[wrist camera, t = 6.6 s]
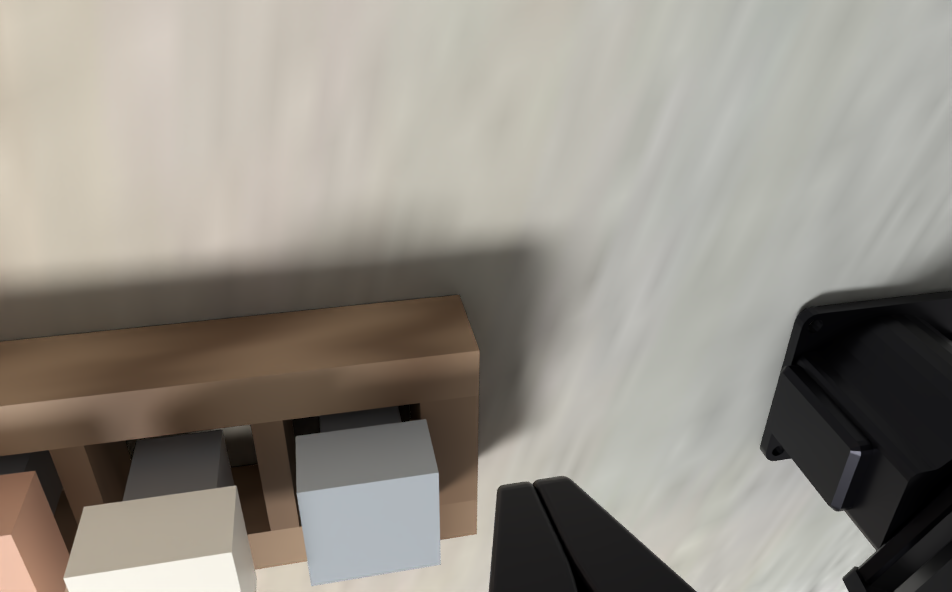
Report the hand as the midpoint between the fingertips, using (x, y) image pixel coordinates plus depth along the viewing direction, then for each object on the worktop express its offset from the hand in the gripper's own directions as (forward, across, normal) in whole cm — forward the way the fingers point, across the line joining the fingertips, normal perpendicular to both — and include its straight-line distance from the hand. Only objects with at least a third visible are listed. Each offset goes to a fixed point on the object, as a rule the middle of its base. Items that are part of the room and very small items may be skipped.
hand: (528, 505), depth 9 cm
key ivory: (+11, +6, +8) cm, 15 cm away
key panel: (+12, +6, +8) cm, 16 cm away
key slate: (+12, +2, +8) cm, 15 cm away
